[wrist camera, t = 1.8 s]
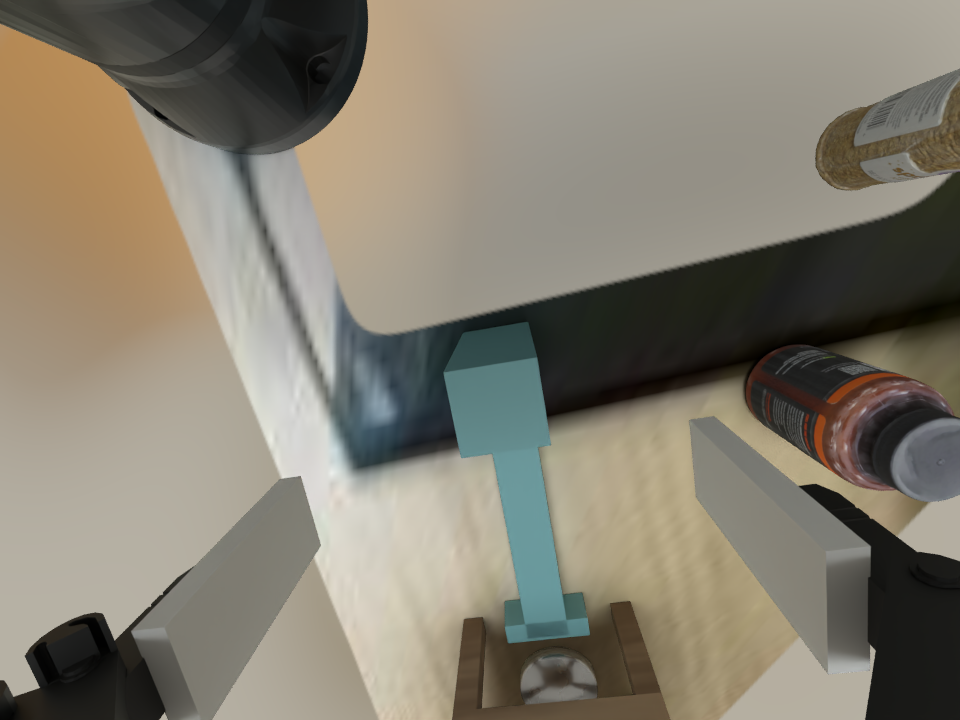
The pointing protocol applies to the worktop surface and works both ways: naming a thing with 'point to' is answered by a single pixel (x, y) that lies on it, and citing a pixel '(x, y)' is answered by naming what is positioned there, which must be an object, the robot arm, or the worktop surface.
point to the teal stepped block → (514, 469)
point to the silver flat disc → (557, 676)
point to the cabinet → (611, 716)
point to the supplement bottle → (859, 421)
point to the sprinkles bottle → (895, 138)
